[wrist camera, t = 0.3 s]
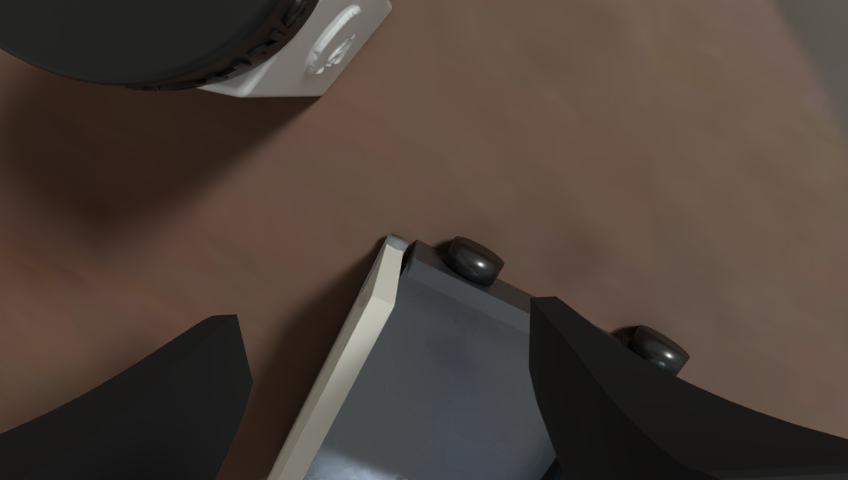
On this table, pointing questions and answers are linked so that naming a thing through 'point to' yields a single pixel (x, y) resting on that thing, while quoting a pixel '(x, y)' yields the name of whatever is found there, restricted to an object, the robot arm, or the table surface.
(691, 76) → the table surface
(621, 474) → the robot arm
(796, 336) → the table surface
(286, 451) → the panel
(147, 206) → the table surface
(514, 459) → the grey piece
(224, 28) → the jar
